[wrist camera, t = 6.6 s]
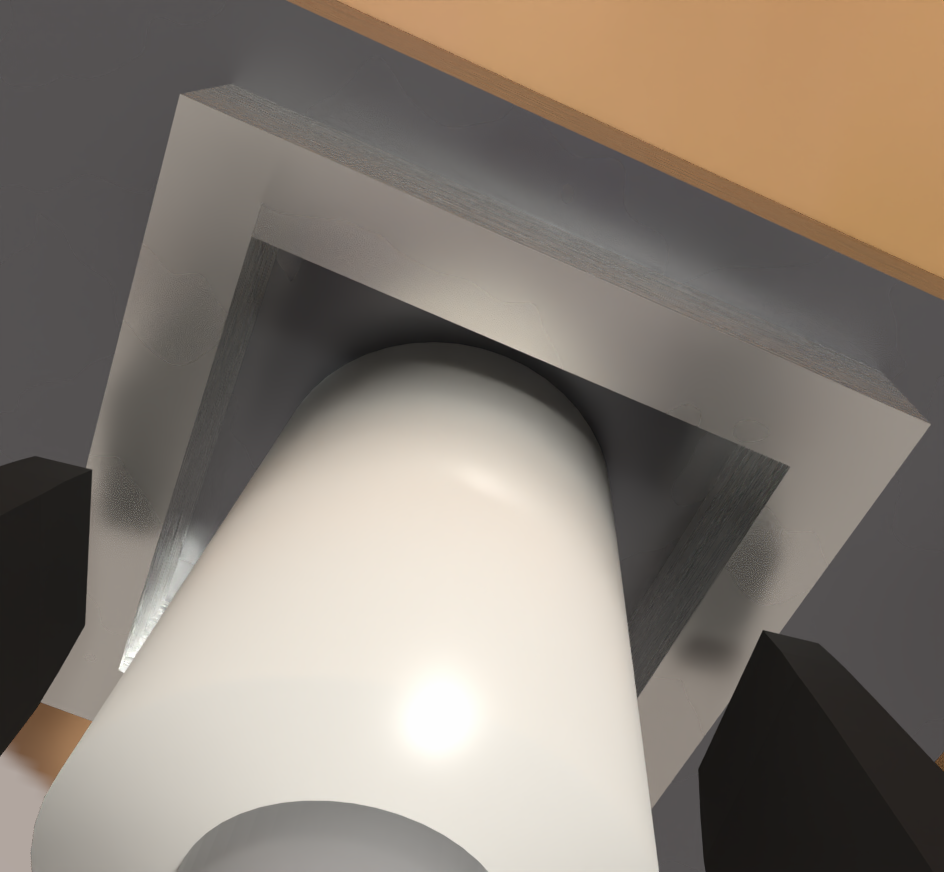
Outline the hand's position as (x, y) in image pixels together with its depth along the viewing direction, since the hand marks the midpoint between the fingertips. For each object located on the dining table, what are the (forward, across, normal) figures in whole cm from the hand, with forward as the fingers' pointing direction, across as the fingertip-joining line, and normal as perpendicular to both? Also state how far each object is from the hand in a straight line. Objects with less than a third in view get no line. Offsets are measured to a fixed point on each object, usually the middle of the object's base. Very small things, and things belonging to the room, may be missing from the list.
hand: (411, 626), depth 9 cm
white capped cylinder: (+2, 0, 0) cm, 2 cm away
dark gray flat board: (+5, 0, 0) cm, 5 cm away
